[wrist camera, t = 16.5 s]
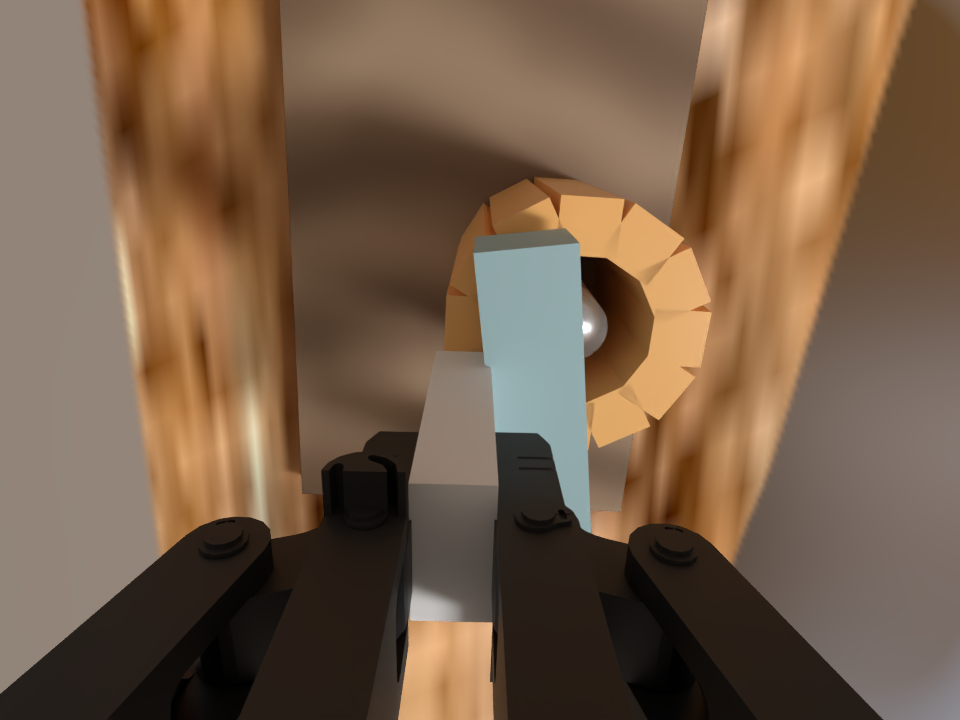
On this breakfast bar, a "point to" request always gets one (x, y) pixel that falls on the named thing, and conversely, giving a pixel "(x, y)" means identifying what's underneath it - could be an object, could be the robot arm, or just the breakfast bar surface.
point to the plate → (453, 174)
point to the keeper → (538, 347)
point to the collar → (603, 297)
